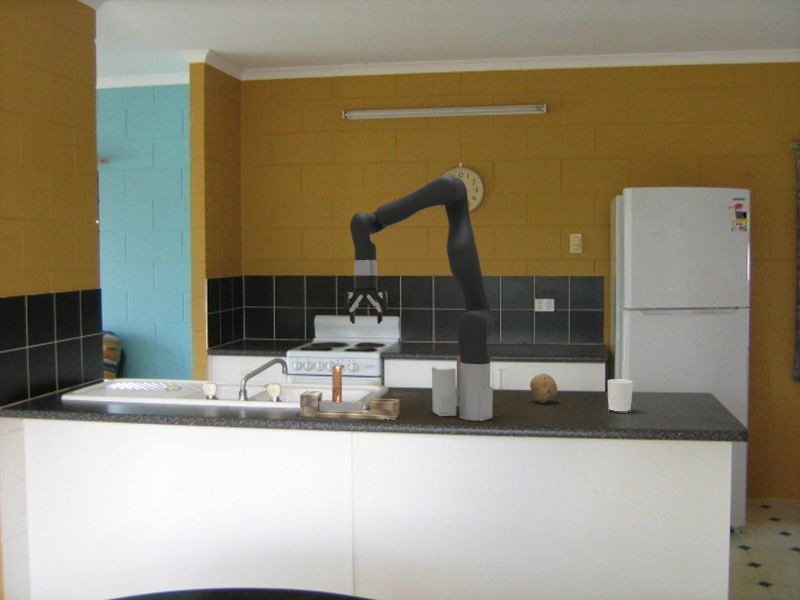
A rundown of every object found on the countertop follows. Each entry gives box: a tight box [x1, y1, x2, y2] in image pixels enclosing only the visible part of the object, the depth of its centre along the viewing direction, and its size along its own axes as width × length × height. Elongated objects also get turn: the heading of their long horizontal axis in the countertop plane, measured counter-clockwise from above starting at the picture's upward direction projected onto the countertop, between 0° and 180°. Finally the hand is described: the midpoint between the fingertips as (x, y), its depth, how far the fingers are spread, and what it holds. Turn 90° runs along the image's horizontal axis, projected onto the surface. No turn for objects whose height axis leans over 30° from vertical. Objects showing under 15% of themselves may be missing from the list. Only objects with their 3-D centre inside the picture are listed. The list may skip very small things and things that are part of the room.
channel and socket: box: [298, 390, 400, 421], centre depth 251 cm, size 30×8×7 cm, turn 82°
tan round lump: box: [529, 373, 558, 403], centre depth 275 cm, size 9×9×10 cm
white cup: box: [607, 378, 634, 411], centre depth 261 cm, size 8×8×10 cm
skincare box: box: [431, 365, 457, 417], centre depth 255 cm, size 8×6×15 cm
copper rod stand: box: [318, 365, 364, 413], centre depth 251 cm, size 16×3×14 cm, turn 82°
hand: (366, 323), depth 266 cm, fingers open, 8 cm apart
